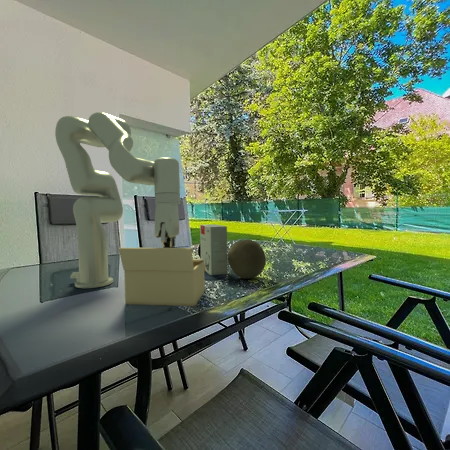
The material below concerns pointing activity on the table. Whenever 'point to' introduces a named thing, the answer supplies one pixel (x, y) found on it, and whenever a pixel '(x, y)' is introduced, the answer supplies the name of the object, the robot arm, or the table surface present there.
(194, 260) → the back flap
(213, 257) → the hard drive box
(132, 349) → the table surface
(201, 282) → the cardboard box
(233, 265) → the cantaloupe
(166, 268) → the front flap
